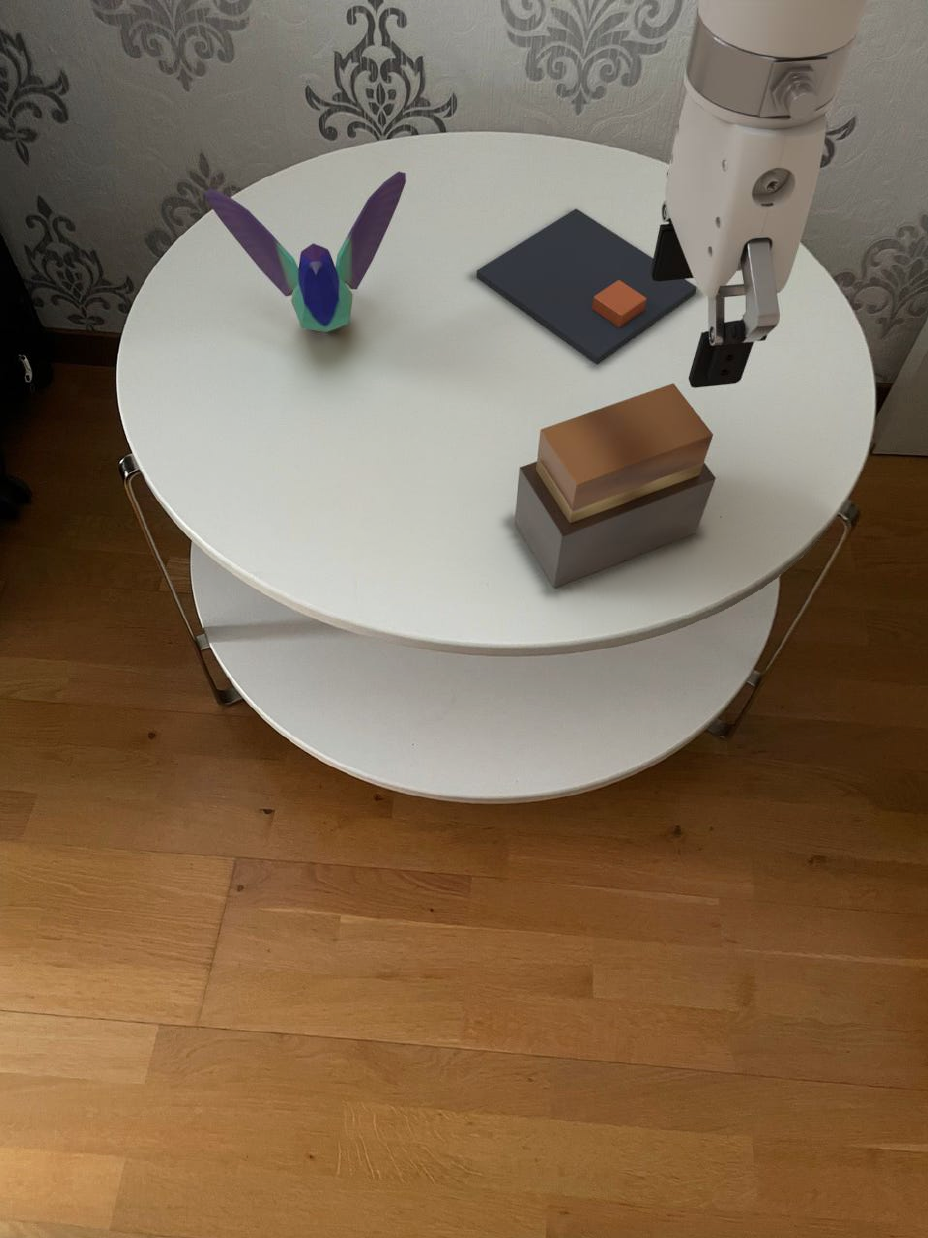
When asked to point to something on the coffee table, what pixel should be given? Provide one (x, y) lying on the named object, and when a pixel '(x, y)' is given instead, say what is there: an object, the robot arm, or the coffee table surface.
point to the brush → (622, 452)
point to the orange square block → (619, 303)
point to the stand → (605, 525)
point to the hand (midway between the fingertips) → (692, 327)
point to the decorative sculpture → (315, 256)
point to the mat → (581, 283)
